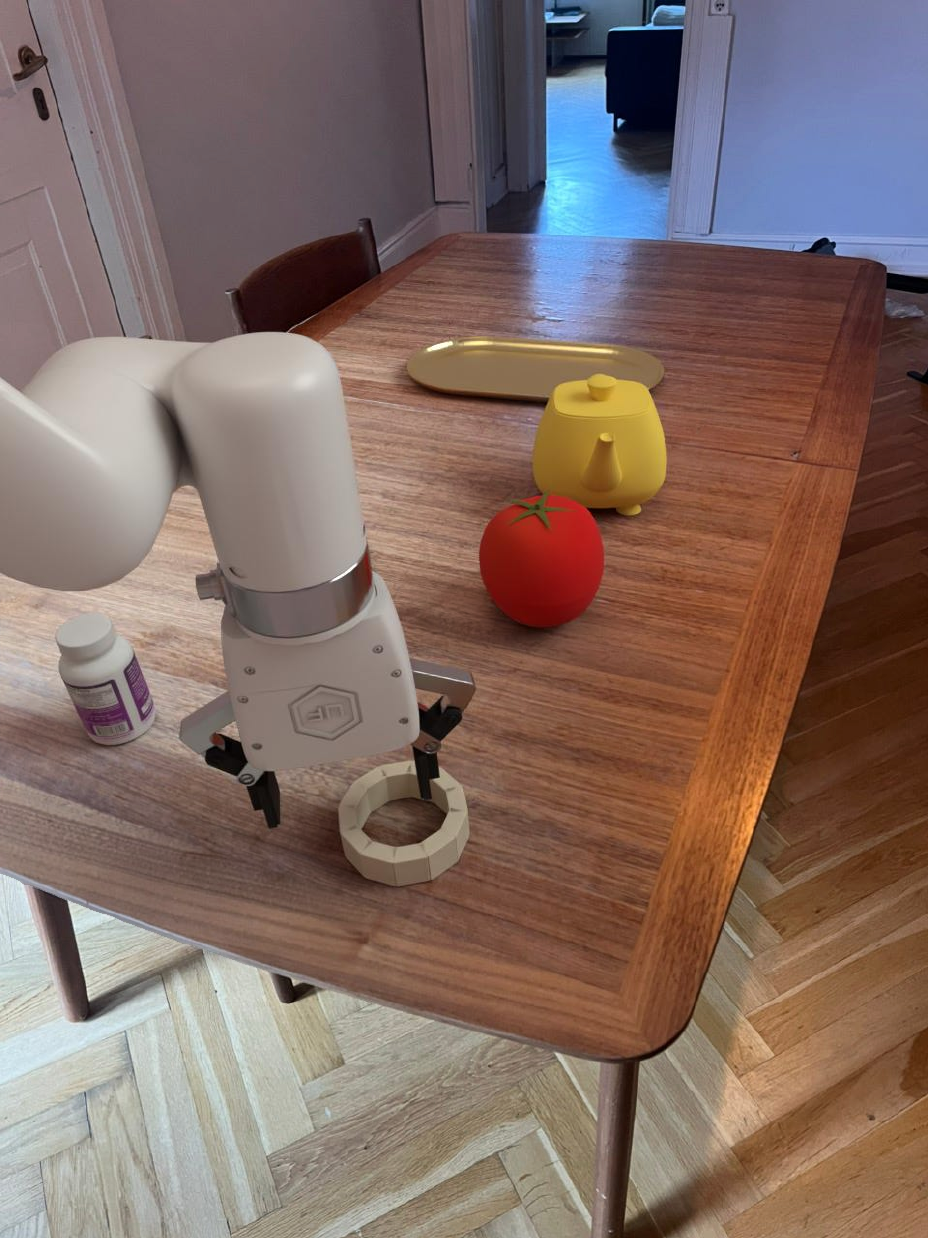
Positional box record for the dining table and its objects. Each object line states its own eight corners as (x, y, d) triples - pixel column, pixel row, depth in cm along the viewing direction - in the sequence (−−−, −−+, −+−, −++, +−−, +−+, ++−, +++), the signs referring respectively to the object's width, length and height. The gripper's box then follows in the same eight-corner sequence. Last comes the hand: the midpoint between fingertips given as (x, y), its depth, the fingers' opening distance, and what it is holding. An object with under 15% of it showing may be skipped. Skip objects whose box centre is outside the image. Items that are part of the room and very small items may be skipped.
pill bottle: (125, 692, 73) (88, 598, 67) (171, 713, 70) (137, 617, 65) (72, 734, 69) (28, 638, 63) (119, 757, 67) (78, 660, 61)
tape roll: (348, 896, 56) (342, 871, 55) (340, 796, 63) (335, 772, 61) (478, 872, 57) (476, 848, 55) (457, 776, 64) (454, 752, 62)
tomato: (628, 607, 78) (636, 500, 72) (547, 664, 73) (547, 555, 66) (540, 562, 84) (540, 460, 78) (460, 611, 79) (452, 507, 72)
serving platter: (650, 417, 108) (651, 405, 107) (386, 393, 118) (385, 382, 117) (673, 359, 122) (674, 348, 121) (435, 342, 132) (434, 332, 131)
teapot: (656, 455, 100) (665, 345, 92) (673, 553, 84) (686, 431, 77) (534, 456, 101) (533, 347, 94) (529, 553, 86) (527, 432, 78)
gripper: (123, 651, 43) (210, 870, 53) (475, 595, 44) (493, 818, 55) (141, 566, 48) (217, 778, 59) (452, 518, 50) (471, 733, 60)
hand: (350, 797), depth 57 cm, fingers open, 9 cm apart
